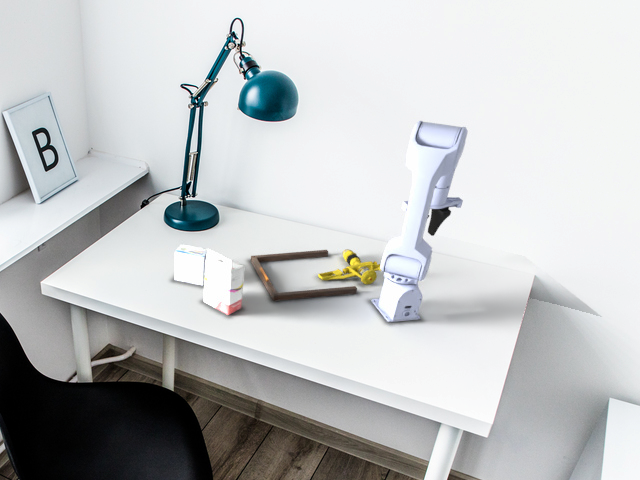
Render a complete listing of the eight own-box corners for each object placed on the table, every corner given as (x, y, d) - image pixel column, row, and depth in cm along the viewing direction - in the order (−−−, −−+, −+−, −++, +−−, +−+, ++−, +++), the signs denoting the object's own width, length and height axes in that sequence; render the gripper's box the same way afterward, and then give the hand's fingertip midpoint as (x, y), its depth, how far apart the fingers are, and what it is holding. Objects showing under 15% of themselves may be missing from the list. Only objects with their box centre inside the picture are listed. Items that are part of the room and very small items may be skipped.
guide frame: (356, 293, 162) (357, 287, 160) (273, 300, 160) (274, 294, 159) (325, 254, 178) (327, 248, 177) (250, 260, 176) (251, 254, 175)
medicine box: (208, 278, 169) (210, 248, 164) (202, 286, 166) (204, 256, 161) (180, 272, 172) (180, 243, 167) (173, 280, 168) (174, 250, 163)
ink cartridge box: (242, 308, 157) (247, 254, 149) (228, 316, 155) (232, 261, 146) (216, 294, 163) (220, 241, 154) (202, 301, 160) (205, 248, 151)
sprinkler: (376, 239, 174) (403, 265, 162) (375, 252, 176) (402, 279, 164) (305, 254, 174) (327, 281, 162) (305, 267, 176) (327, 295, 164)
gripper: (457, 175, 162) (442, 225, 170) (401, 179, 160) (389, 229, 169) (473, 186, 156) (457, 237, 164) (415, 191, 155) (402, 242, 163)
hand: (424, 234), depth 166 cm, fingers open, 3 cm apart
